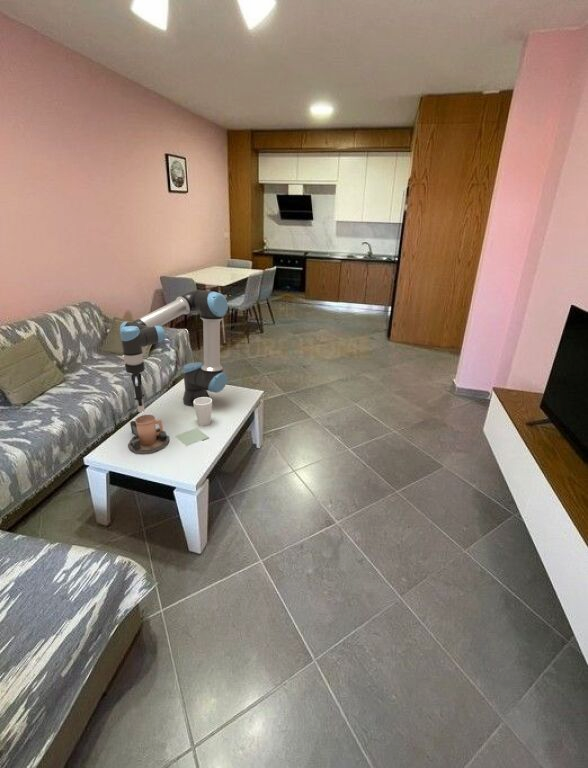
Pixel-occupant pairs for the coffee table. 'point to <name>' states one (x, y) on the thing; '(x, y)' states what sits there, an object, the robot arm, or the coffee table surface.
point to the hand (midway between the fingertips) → (141, 410)
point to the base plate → (151, 446)
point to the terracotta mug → (147, 429)
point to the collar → (136, 442)
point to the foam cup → (203, 410)
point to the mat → (192, 436)
